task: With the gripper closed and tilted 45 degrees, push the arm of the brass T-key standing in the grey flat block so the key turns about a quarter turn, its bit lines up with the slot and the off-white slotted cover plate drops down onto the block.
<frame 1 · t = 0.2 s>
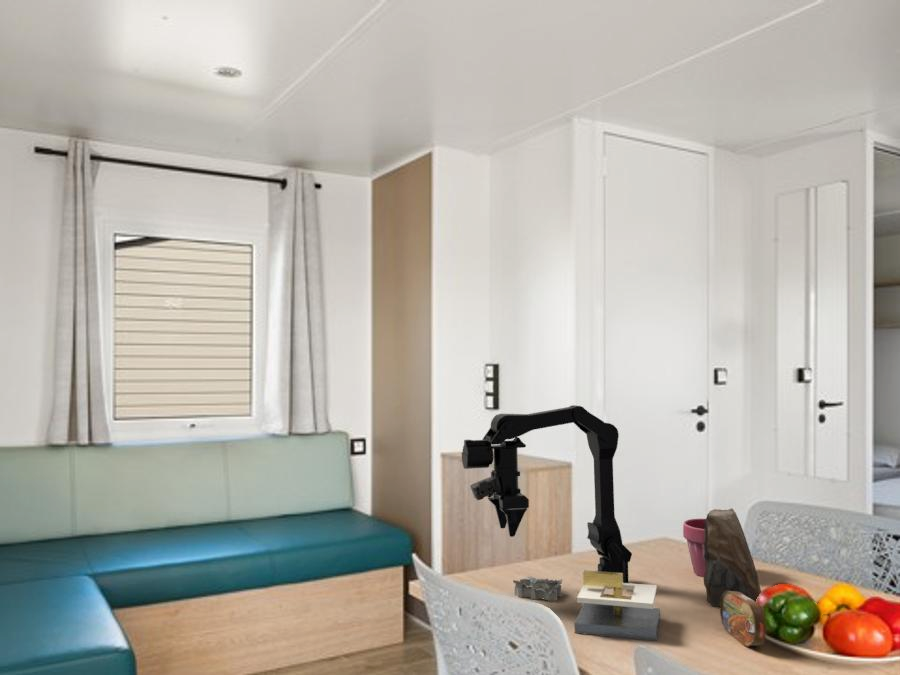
hand: (507, 532, 185), 14 cm above the table, tool pointing down, fingers open, 9 cm apart
cover: (617, 593, 161), point 6 cm above the table, slide at 0.1 cm, touching key
dark brown tall lump: (733, 603, 175), on the table
key: (610, 593, 161), point 6 cm above the table, hinge at 0.0°, touching cover
grey flat block: (618, 625, 160), on the table
egg carton: (538, 596, 182), on the table
tin: (743, 640, 152), on the table
plant pot: (712, 574, 198), on the table
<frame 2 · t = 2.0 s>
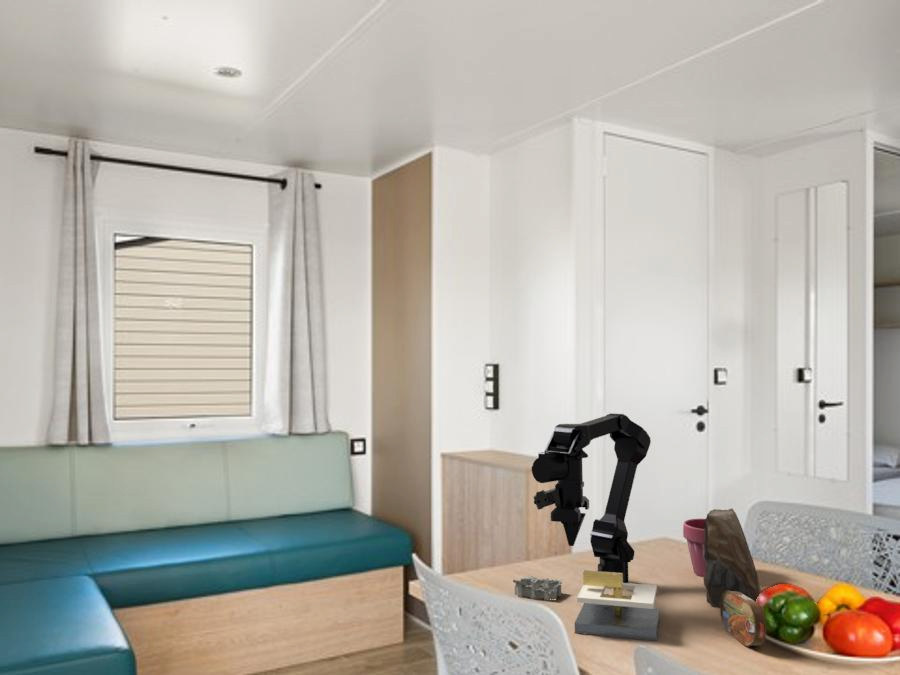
hand: (571, 545, 180), 12 cm above the table, tool pointing down, fingers closed
nothing on the table moved.
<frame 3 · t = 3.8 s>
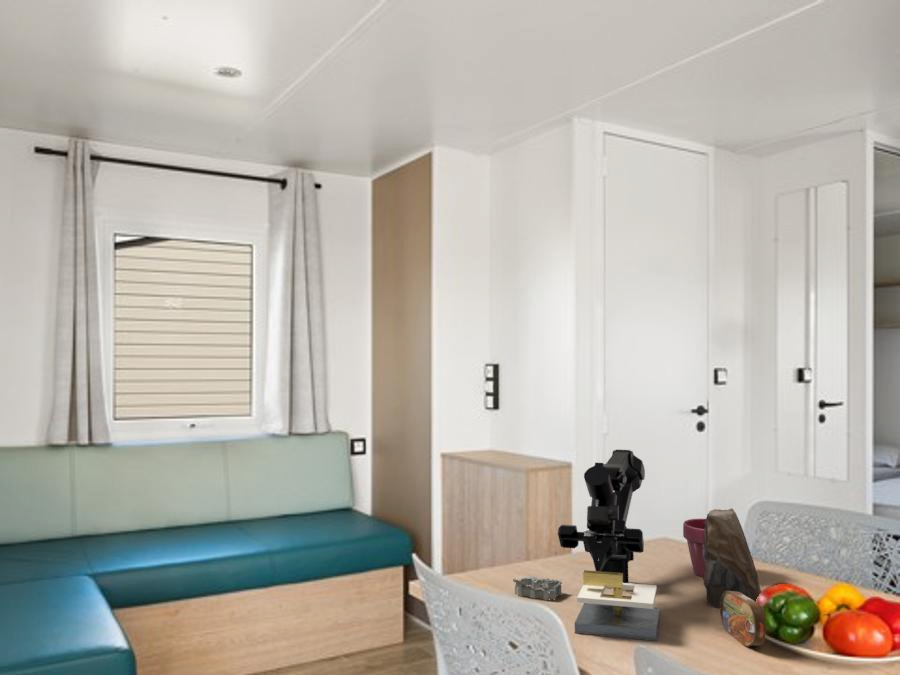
hand: (597, 571, 169), 9 cm above the table, tool tilted 45°, fingers closed
nothing on the table moved.
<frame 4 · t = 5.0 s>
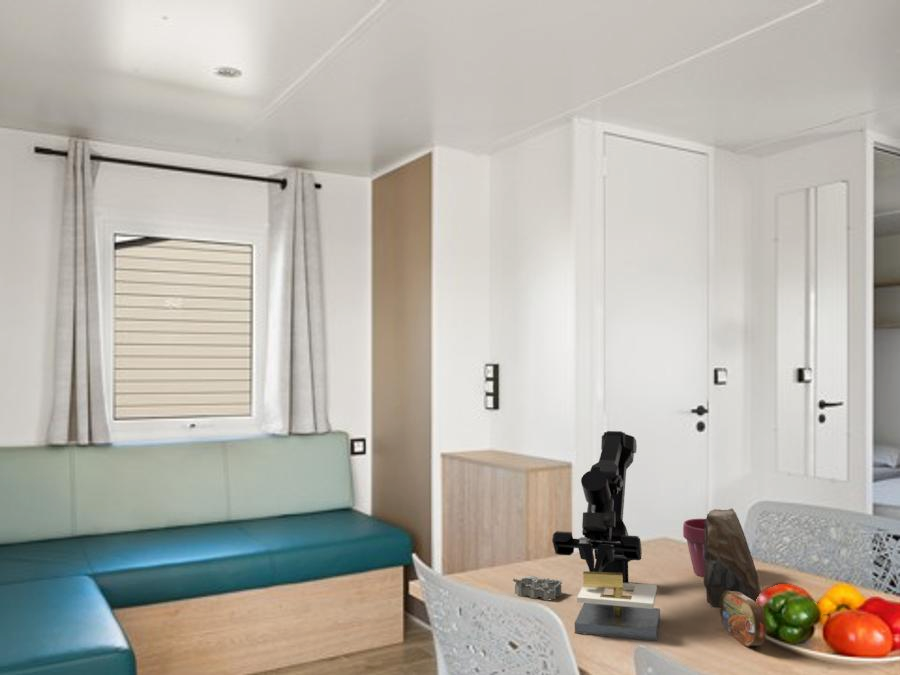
hand: (593, 580, 163), 9 cm above the table, tool tilted 45°, fingers closed, pressing on key
cover: (617, 593, 161), point 7 cm above the table, slide at 0.0 cm
key: (610, 593, 161), point 6 cm above the table, hinge at 7.1°, touching gripper
everything else where it was.
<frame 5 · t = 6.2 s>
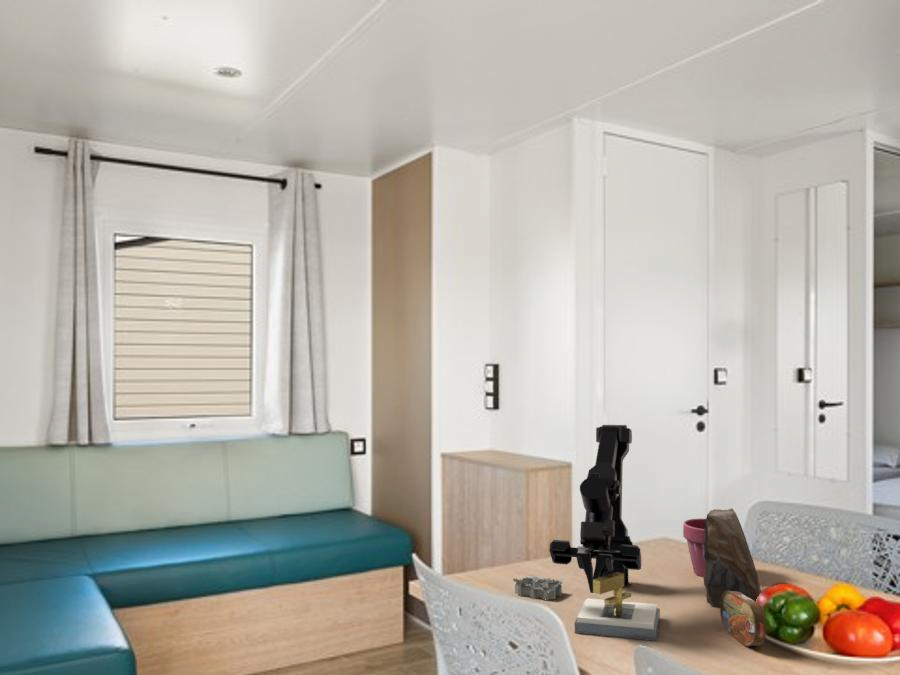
hand: (591, 592, 158), 8 cm above the table, tool tilted 45°, fingers closed
cover: (618, 613, 161), point 3 cm above the table, slide at 4.0 cm
key: (613, 595, 160), point 6 cm above the table, hinge at 59.2°, touching gripper
everything else where it was.
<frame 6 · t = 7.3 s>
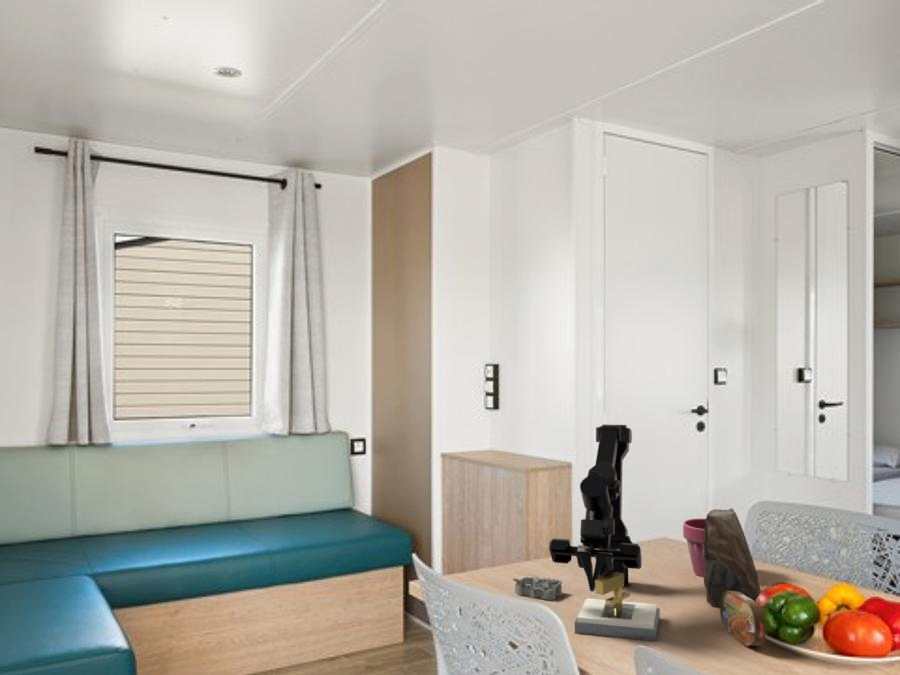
hand: (591, 590, 157), 8 cm above the table, tool tilted 45°, fingers closed
key: (613, 595, 159), point 6 cm above the table, hinge at 64.2°, touching gripper
everything else where it was.
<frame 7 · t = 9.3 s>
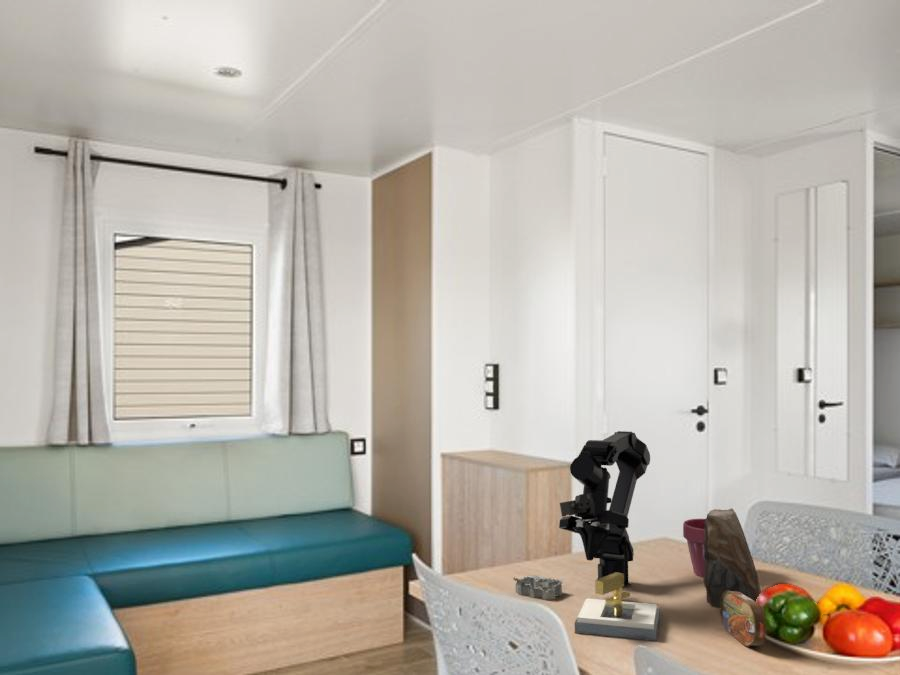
hand: (589, 560, 174), 10 cm above the table, tool tilted 25°, fingers closed
key: (613, 595, 159), point 6 cm above the table, hinge at 64.4°
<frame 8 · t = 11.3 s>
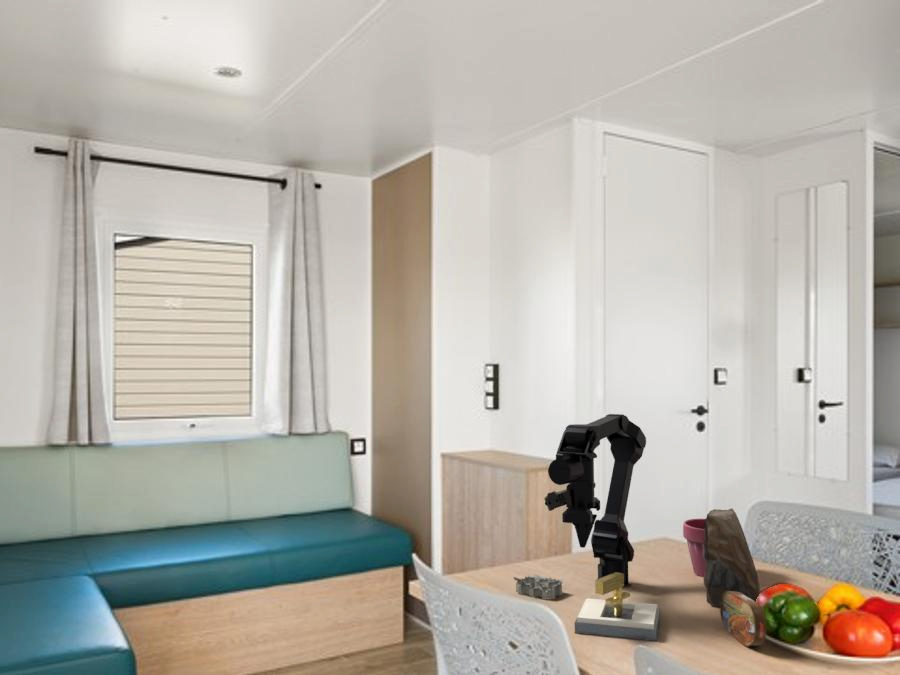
hand: (582, 547, 178), 12 cm above the table, tool pointing down, fingers closed
at the end: key at +64° (first picture: +0°); cover slide at 4.0 cm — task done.
